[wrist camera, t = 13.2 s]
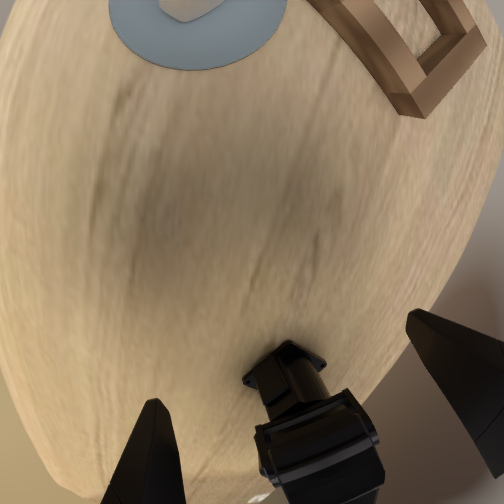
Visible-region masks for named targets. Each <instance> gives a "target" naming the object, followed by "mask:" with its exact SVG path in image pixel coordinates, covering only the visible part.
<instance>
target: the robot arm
mask: <svg viewBox="0 0 504 504" xmlns="http://www.w3.org/2000/svg"><path fill="white" fill-rule="evenodd" d="M406 333H407V335H408V337H409V339H410V340H411V342H412V344H413V345H414V348H415V349H416V351H417V353H418V355H419V357H420V358H421V360H422V362H423V364H424V366H425V367H426V369H427V370H428V372H429V373H430V374H431V376H432V377H433V379H434V380H435V382H436V383H437V385H438V386H439V388H440V389H441V391H442V392H443V394H444V395H445V397H446V398H447V400H448V401H449V403H450V405H451V406H452V408H453V409H454V411H455V412H456V414H457V415H458V417H459V419H460V420H461V422H462V423H463V425H464V427H465V428H466V430H467V431H468V433H469V435H470V436H471V438H472V440H473V441H474V443H475V445H476V446H477V449H478V450H479V452H480V454H481V455H482V457H483V459H484V461H485V462H486V464H487V466H488V468H489V470H490V471H491V473H492V475H493V477H494V478H495V479H496V478H498V477H499V476H501V475H502V474H503V473H504V342H503V341H501V340H498V339H496V338H493V337H491V336H488V335H486V334H483V333H481V332H478V331H475V330H473V329H471V328H468V327H465V326H463V325H460V324H458V323H455V322H453V321H450V320H448V319H445V318H443V317H440V316H437V315H435V314H433V313H430V312H427V311H425V310H422V309H419V308H417V309H414V310H412V311H410V312H409V313H408V317H407V322H406ZM326 365H327V363H326V362H325V360H323V359H321V358H320V357H318V356H316V355H315V354H313V353H311V352H309V351H308V350H306V349H304V348H302V347H301V346H299V345H297V344H296V343H294V342H292V341H286V342H285V343H284V344H282V345H281V346H280V347H279V348H278V349H277V350H276V351H274V352H273V353H272V354H271V355H270V356H269V357H268V358H266V359H265V360H264V361H263V362H262V363H261V364H259V365H258V366H257V367H256V368H255V369H253V370H252V371H251V372H250V373H249V374H247V375H246V376H245V377H244V378H243V379H242V381H243V384H244V385H246V386H248V387H251V388H253V389H256V390H258V391H259V394H260V397H261V400H262V403H263V405H264V406H265V408H266V411H267V414H268V417H269V420H270V422H268V423H266V424H263V425H261V424H260V425H257V426H255V429H256V434H255V436H254V439H255V443H256V446H257V450H258V458H259V471H260V474H261V475H262V476H264V477H266V478H268V479H269V481H270V482H271V483H272V484H273V486H274V487H275V488H276V489H277V488H280V487H282V489H283V491H284V493H285V495H286V497H287V499H288V502H289V504H376V499H377V495H378V491H379V487H381V486H383V485H384V480H385V470H384V469H383V465H382V463H381V460H380V458H379V456H378V453H377V451H376V448H375V447H377V446H379V444H380V443H379V438H378V434H377V432H376V429H375V427H374V425H373V424H372V421H371V419H370V418H369V416H368V415H367V413H366V412H365V411H364V409H363V408H362V407H361V405H360V404H359V403H358V401H357V400H356V399H355V397H354V396H353V395H352V393H351V392H350V391H349V389H348V388H346V389H344V390H342V392H340V393H338V394H336V395H334V396H332V397H331V396H330V394H329V392H328V390H327V388H326V386H325V384H324V382H323V381H322V379H321V377H320V375H319V372H320V371H321V370H322V369H324V368H325V367H326ZM100 504H186V499H185V493H184V486H183V479H182V472H181V464H180V457H179V451H178V447H177V443H176V439H175V434H174V430H173V426H172V421H171V417H170V413H169V411H168V409H167V408H166V407H165V406H164V404H163V403H162V402H161V400H160V399H158V398H154V399H149V400H147V401H146V402H145V404H144V407H143V409H142V411H141V413H140V415H139V417H138V420H137V422H136V424H135V426H134V428H133V431H132V433H131V435H130V437H129V440H128V442H127V444H126V446H125V449H124V451H123V453H122V455H121V458H120V460H119V462H118V464H117V467H116V469H115V471H114V474H113V476H112V478H111V481H110V484H109V485H108V487H107V490H106V492H105V494H104V497H103V499H102V501H101V503H100Z"/></svg>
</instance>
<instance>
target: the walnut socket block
mask: <svg viewBox="0 0 504 504" xmlns="http://www.w3.org/2000/svg"><path fill="white" fill-rule="evenodd" d="M307 1H308V2H309V3H310V4H311V5H312V6H313V7H314V8H315V9H316V10H317V11H318V12H319V13H320V14H321V15H322V16H323V17H324V18H325V19H326V20H327V21H328V22H329V24H330V25H331V26H332V27H333V28H334V29H335V30H336V31H337V32H338V34H339V35H340V36H341V37H342V38H343V39H344V41H345V42H346V43H347V44H348V45H349V46H350V48H351V49H352V50H353V51H354V53H355V54H356V55H357V56H358V58H359V59H360V60H361V61H362V63H363V64H364V65H365V67H366V68H367V69H368V70H369V72H370V73H371V74H372V76H373V77H374V79H375V80H376V81H377V83H378V84H379V85H380V87H381V88H382V90H383V91H384V93H385V94H386V95H387V97H388V98H389V100H390V101H391V103H392V104H393V106H394V107H395V109H396V110H397V112H398V114H399V115H404V116H410V117H416V118H422V119H426V118H427V117H428V116H429V114H430V113H431V112H432V111H433V110H434V109H435V107H436V106H437V105H438V104H439V103H440V102H441V101H442V99H443V98H444V97H445V96H446V95H447V93H448V92H449V91H450V90H451V89H452V88H453V86H454V85H455V84H456V83H457V82H458V80H459V79H460V78H461V77H462V76H463V74H464V73H465V72H466V71H467V70H468V68H469V67H470V66H471V65H472V64H473V62H474V61H475V60H476V59H477V57H478V56H479V55H480V54H481V52H482V51H483V50H484V49H485V47H486V46H487V44H486V42H485V40H484V38H483V36H482V34H481V32H480V30H479V28H478V27H477V25H476V23H475V21H474V19H473V17H472V16H471V14H470V12H469V10H468V9H467V7H466V5H465V4H464V2H463V0H420V2H421V3H422V4H423V6H424V7H425V9H426V10H427V12H428V13H429V15H430V16H431V18H432V19H433V21H434V22H435V24H436V25H437V27H438V29H439V30H440V32H441V33H442V36H441V37H440V38H439V39H437V40H436V41H435V42H434V43H433V44H432V45H431V46H430V47H429V48H428V49H427V50H426V51H425V52H424V53H423V54H422V55H421V56H420V57H419V58H418V59H417V60H416V58H415V57H414V55H413V54H412V52H411V51H410V49H409V48H408V46H407V45H406V43H405V42H404V40H403V39H402V38H401V36H400V35H399V33H398V32H397V31H396V29H395V28H394V26H393V25H392V24H391V22H390V21H389V20H388V19H387V17H386V16H385V15H384V13H383V12H382V11H381V10H380V8H379V7H378V6H377V5H376V4H375V2H374V1H373V0H307Z"/></svg>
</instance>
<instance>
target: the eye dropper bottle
mask: <svg viewBox="0 0 504 504" xmlns="http://www.w3.org/2000/svg"><path fill="white" fill-rule="evenodd" d="M224 1H225V0H158V2H159V6H160V8H161V9H162V10H163V11H164V12H166V13H167V14H169V15H170V16H172V17H174V18H175V19H177V20H178V21H181V22H189V21H192V20H194V19H196V18H199V17H201V16H203V15H204V14H206V13H208V12H210V11H211V10H213V9H214V8H216V7H217V6H219V5H220V4H221V3H222V2H224Z"/></svg>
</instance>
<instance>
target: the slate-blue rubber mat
mask: <svg viewBox="0 0 504 504" xmlns="http://www.w3.org/2000/svg"><path fill="white" fill-rule="evenodd" d="M286 3H287V0H225V1H224V2H222V3H221V4H220V5H219V6H217V7H216V8H214V9H213V10H211V11H210V12H208V13H206V14H204V15H203V16H201V17H199V18H196V19H194V20H192V21H189V22H181V21H178V20H177V19H175V18H174V17H172V16H170V15H169V14H167V13H166V12H164V11H163V10H162V9H161V8H160V6H159V2H158V0H109V14H110V19H111V22H112V25H113V27H114V30H115V31H116V33H117V35H118V36H119V38H120V39H121V40H122V41H123V42H124V44H125V45H126V46H127V47H128V48H129V49H131V50H132V51H133V52H134V53H135V54H137V55H139V56H140V57H142V58H143V59H145V60H147V61H150V62H152V63H154V64H157V65H160V66H163V67H168V68H172V69H180V70H204V69H212V68H216V67H221V66H225V65H228V64H231V63H234V62H236V61H238V60H240V59H243V58H244V57H246V56H248V55H250V54H251V53H253V52H254V51H256V50H257V49H258V48H260V47H261V46H262V45H264V44H265V43H266V42H267V41H268V40H269V39H270V38H271V36H272V35H273V34H274V33H275V31H276V30H277V28H278V27H279V25H280V23H281V21H282V19H283V16H284V13H285V9H286Z"/></svg>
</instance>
